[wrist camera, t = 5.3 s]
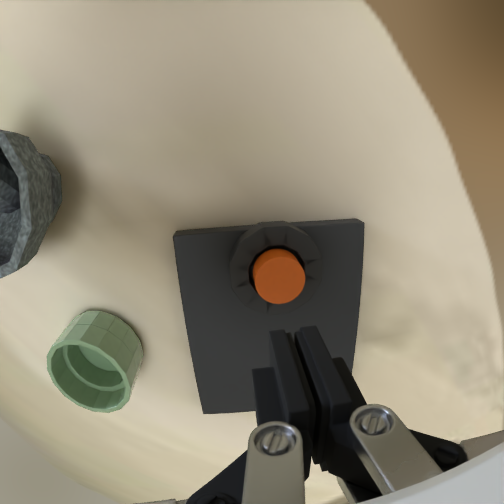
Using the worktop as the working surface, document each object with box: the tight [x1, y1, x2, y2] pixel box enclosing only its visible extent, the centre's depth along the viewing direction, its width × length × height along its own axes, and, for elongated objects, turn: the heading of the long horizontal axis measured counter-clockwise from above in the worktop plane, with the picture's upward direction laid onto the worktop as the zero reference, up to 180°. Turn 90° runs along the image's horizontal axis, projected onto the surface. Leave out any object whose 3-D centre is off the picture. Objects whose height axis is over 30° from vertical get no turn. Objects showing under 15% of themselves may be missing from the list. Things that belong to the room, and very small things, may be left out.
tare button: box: [253, 249, 305, 304], centre depth 20 cm, size 3×3×2 cm
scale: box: [173, 219, 364, 414], centre depth 23 cm, size 16×13×3 cm
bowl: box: [47, 311, 143, 413], centre depth 22 cm, size 7×7×5 cm
